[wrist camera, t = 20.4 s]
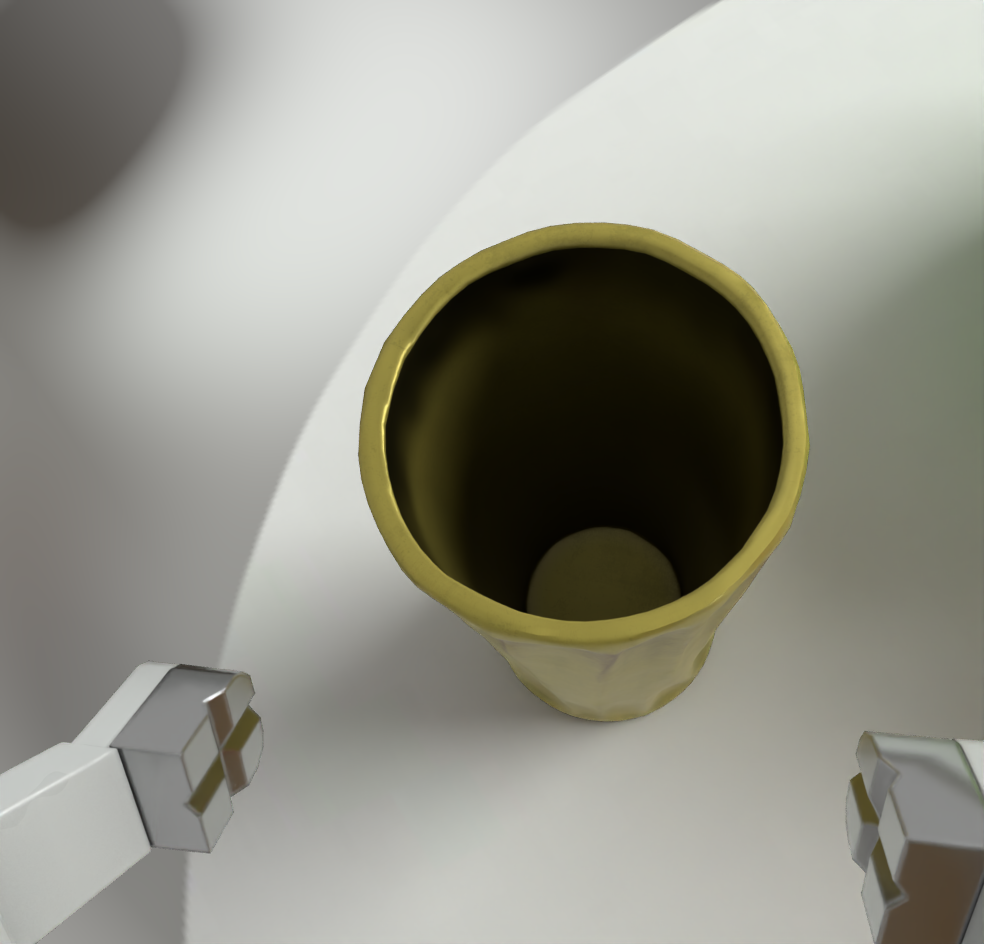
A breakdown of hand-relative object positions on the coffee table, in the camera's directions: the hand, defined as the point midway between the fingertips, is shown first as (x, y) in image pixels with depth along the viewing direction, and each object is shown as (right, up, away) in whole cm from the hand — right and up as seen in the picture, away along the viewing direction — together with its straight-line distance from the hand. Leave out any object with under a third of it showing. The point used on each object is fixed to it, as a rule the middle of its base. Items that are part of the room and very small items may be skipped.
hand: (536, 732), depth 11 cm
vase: (+3, 0, +12) cm, 12 cm away
